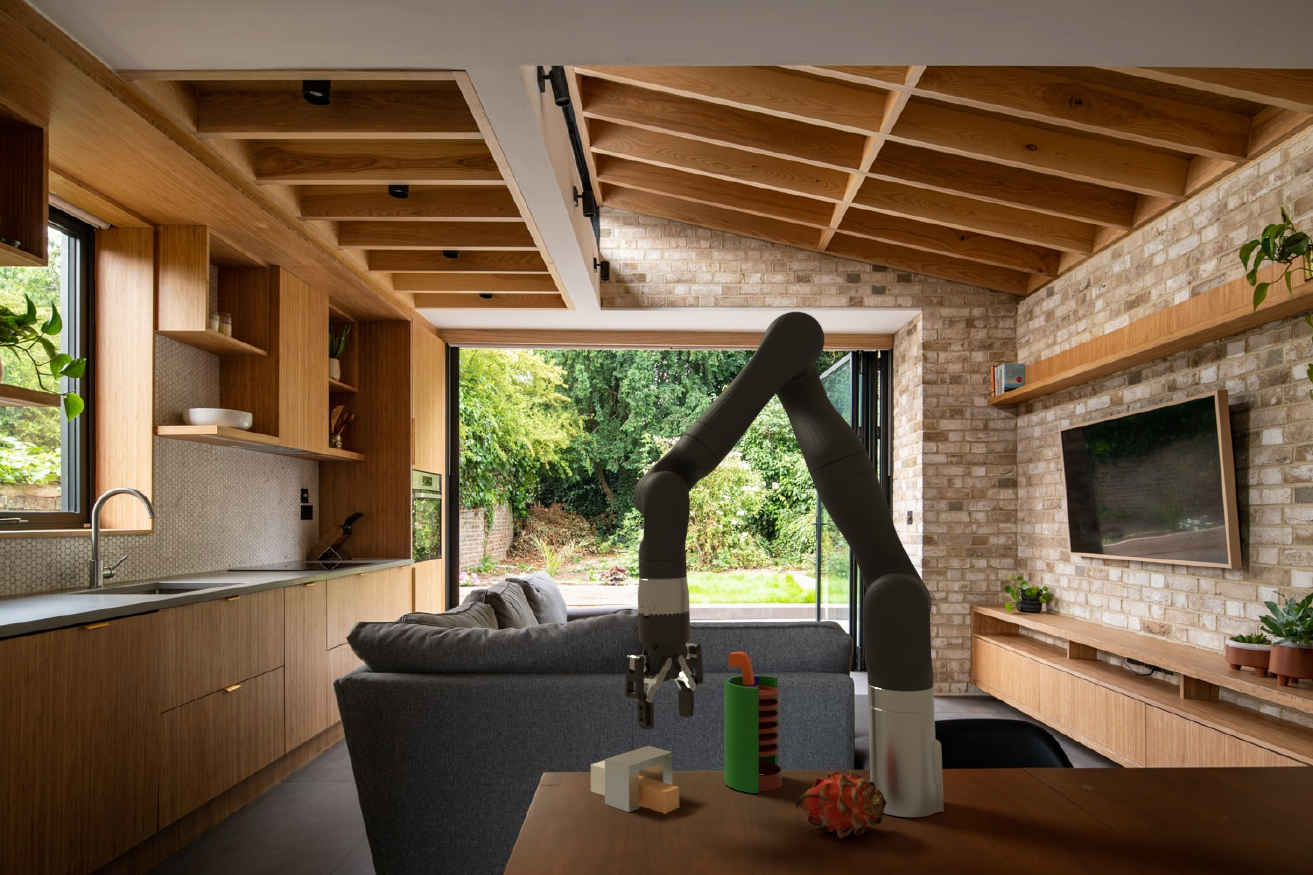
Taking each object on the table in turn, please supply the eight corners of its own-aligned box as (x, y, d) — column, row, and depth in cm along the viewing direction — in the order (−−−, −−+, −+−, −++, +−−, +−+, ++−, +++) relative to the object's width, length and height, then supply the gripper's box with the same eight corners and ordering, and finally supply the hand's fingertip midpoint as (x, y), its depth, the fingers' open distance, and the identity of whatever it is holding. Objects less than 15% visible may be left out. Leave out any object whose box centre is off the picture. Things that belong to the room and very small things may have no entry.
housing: (672, 795, 128) (672, 751, 128) (629, 812, 121) (628, 765, 122) (648, 788, 131) (648, 745, 132) (604, 803, 125) (604, 758, 125)
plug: (681, 807, 123) (681, 778, 123) (662, 814, 120) (662, 785, 121) (609, 784, 133) (609, 758, 134) (590, 791, 130) (590, 764, 131)
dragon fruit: (896, 850, 111) (803, 858, 113) (884, 793, 118) (798, 801, 120) (889, 809, 107) (794, 818, 109) (878, 753, 114) (788, 762, 116)
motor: (779, 795, 128) (777, 659, 129) (720, 792, 129) (718, 658, 131) (783, 774, 138) (781, 648, 139) (728, 771, 139) (726, 647, 141)
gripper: (676, 602, 132) (679, 709, 131) (610, 612, 122) (613, 728, 120) (714, 605, 127) (717, 716, 126) (649, 615, 117) (652, 737, 115)
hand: (666, 722), depth 123 cm, fingers open, 8 cm apart
